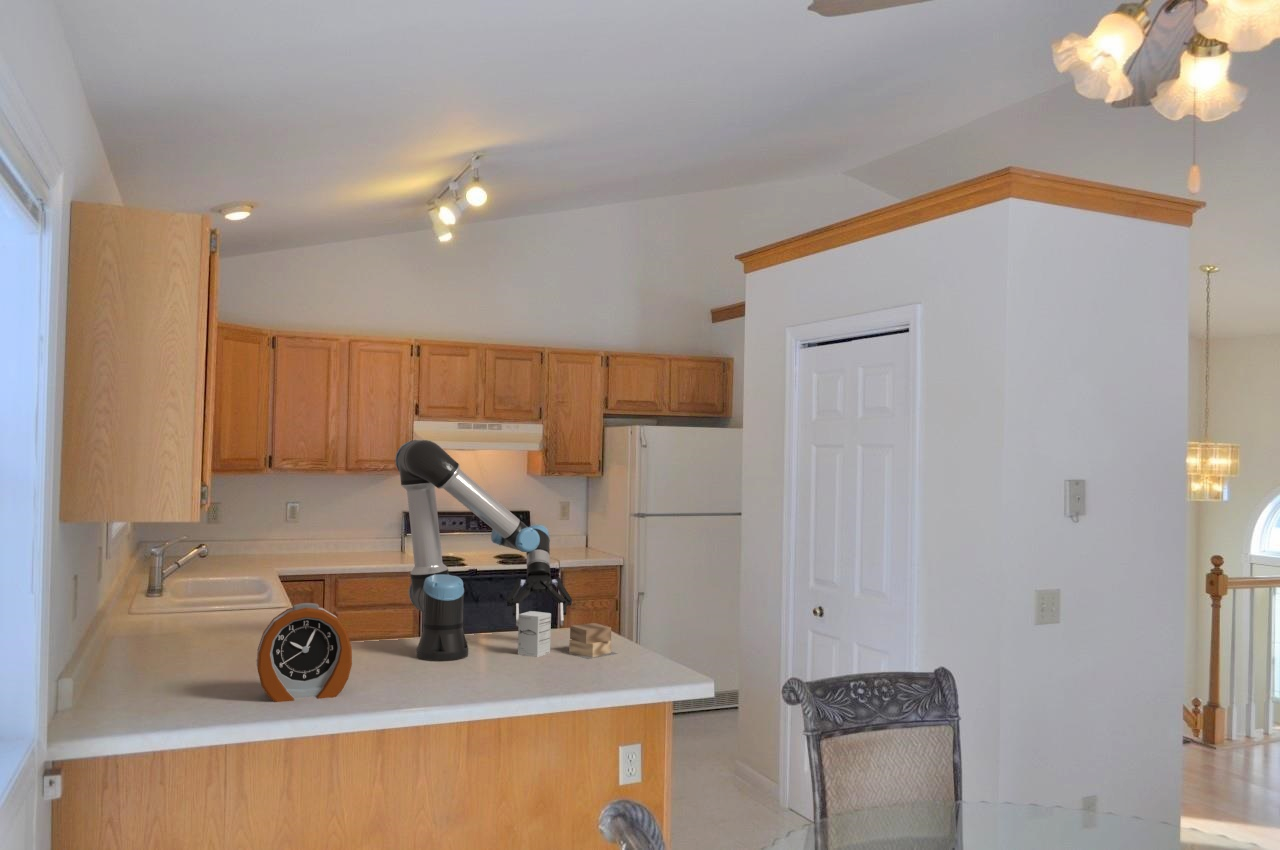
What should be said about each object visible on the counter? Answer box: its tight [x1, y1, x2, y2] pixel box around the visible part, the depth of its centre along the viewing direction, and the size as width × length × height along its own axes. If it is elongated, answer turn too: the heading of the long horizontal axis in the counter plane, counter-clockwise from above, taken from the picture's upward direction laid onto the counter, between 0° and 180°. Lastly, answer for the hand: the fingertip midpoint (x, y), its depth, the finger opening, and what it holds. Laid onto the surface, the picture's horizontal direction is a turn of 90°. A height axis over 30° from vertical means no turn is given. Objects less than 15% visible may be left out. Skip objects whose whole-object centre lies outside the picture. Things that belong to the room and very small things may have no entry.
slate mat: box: [562, 651, 619, 660], centre depth 294 cm, size 12×12×1 cm
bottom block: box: [568, 639, 612, 657], centre depth 294 cm, size 9×9×4 cm
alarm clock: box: [256, 602, 353, 703], centre depth 242 cm, size 22×10×23 cm, turn 114°
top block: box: [569, 622, 612, 644], centre depth 294 cm, size 9×9×4 cm
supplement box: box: [517, 610, 552, 658], centre depth 292 cm, size 7×7×13 cm
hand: (539, 623), depth 295 cm, fingers open, 13 cm apart
